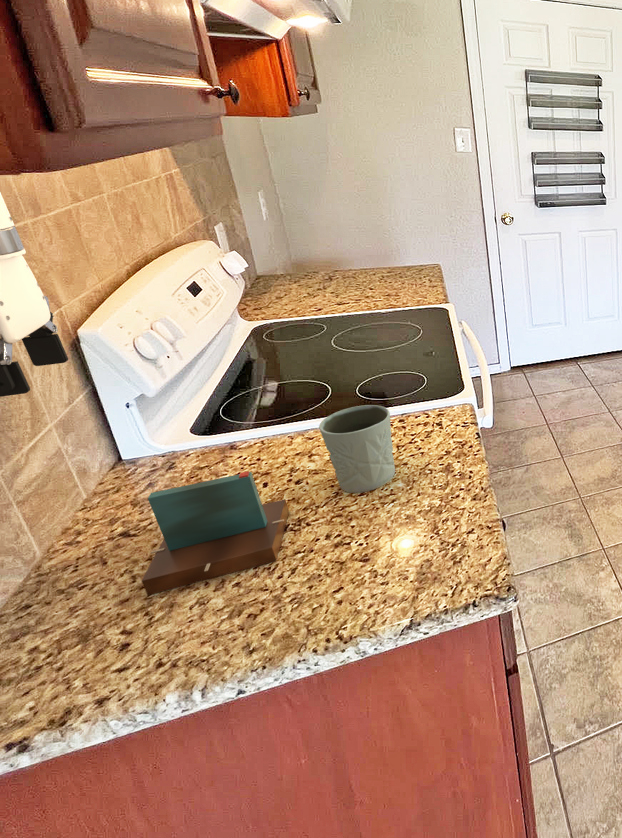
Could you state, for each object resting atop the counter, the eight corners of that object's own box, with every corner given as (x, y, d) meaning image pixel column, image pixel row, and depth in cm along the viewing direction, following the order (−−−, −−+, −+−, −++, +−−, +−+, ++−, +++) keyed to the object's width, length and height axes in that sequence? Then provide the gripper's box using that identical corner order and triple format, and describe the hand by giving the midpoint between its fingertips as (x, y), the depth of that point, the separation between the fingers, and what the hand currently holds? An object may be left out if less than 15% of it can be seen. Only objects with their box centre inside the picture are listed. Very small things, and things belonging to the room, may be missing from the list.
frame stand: (137, 605, 74) (130, 590, 73) (174, 533, 87) (168, 519, 86) (279, 567, 81) (275, 552, 80) (295, 505, 93) (291, 491, 92)
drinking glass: (321, 494, 96) (304, 433, 92) (357, 460, 105) (343, 403, 101) (382, 495, 96) (368, 434, 92) (412, 461, 106) (400, 404, 101)
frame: (169, 551, 80) (146, 496, 76) (172, 544, 81) (150, 491, 78) (266, 527, 85) (249, 475, 81) (267, 521, 86) (250, 470, 83)
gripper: (-30, 233, 71) (26, 358, 78) (-135, 266, 57) (-56, 415, 64) (54, 229, 75) (101, 349, 81) (-26, 259, 61) (39, 401, 67)
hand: (32, 378), depth 72 cm, fingers open, 9 cm apart
